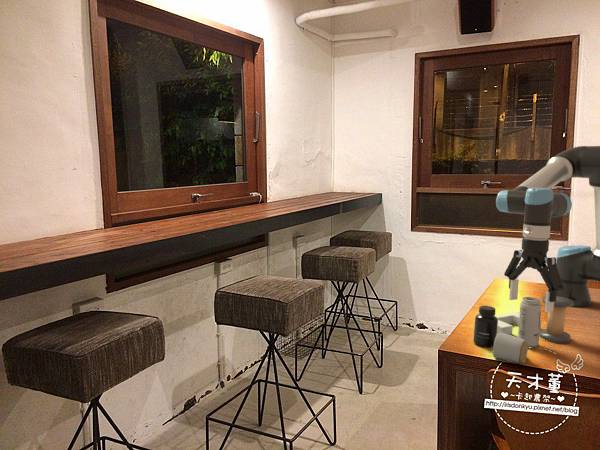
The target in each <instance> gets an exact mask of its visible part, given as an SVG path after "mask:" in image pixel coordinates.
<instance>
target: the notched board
mask: <svg viewBox="0 0 600 450" xmlns="http://www.w3.org/2000/svg"><path fill="white" fill-rule="evenodd" d="M494 316H495V317H497V319H498V327H497V334H498V333H499V332H502V333H505V334H508V335H510V334H511V335H513V327H514V325H515V326H518V327H519V316H520V311H518V312H511V313H506V314H498V315H494ZM512 324H513V325H512ZM540 330H542V320H540Z"/></svg>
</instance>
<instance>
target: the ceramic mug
mask: <svg viewBox="0 0 600 450" xmlns="http://www.w3.org/2000/svg"><path fill="white" fill-rule="evenodd" d="M528 350H529V348H528V343H527V341H525V340H523V339H521V338H518V336H515V335H512V334H511V335H508V334H505V333H502V332H499V333H498V334H497V336H496V338H495V341H494V346H493V347H492V356H493V358H495V359H499V360H502V361H506V362H510V363H514V364H520V365H521V364H523V363H525V361H526V359H527V355H528Z"/></svg>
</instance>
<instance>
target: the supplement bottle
mask: <svg viewBox="0 0 600 450" xmlns="http://www.w3.org/2000/svg"><path fill="white" fill-rule="evenodd" d="M478 309H479V310H478V314H476V315H475V318H474V327H473V328H474V329H473V343H474V344H475V345H476V346H479V347H480V348H493V346H494V341H495V338H496V336H497V327H498V319H497V317H495V316H496V308H495V307H493V306H491V305H481V306H479V308H478Z"/></svg>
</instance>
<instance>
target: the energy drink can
mask: <svg viewBox="0 0 600 450" xmlns="http://www.w3.org/2000/svg"><path fill="white" fill-rule="evenodd" d="M519 305H520V306H519V312H520V316H519V326H518V335H517V337H518V338H521V339H523V340H525V341H527V343H528V347H531V348H530V349H534V348H533V347H535V348H536V347H537V346H538V345H539V342H540V330H541V329H540V320H541V318H542V317H541V316H542V304H541V301H540V299H539V298H536V297H532V296H524V297H523V298H522V300H521V302H520V304H519ZM541 321H542V320H541Z"/></svg>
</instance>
